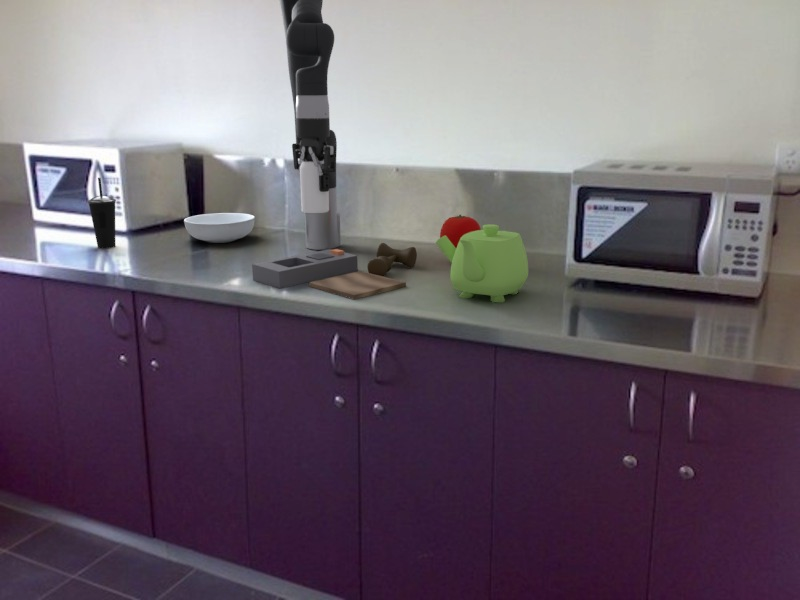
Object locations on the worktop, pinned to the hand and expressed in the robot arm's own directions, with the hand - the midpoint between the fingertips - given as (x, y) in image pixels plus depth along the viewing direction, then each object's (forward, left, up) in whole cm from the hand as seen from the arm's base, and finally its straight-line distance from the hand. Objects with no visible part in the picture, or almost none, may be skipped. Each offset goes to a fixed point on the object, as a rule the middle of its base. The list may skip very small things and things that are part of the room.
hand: (315, 189), depth 182 cm
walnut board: (-4, +10, -22) cm, 25 cm away
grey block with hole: (-2, -7, -22) cm, 23 cm away
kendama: (-22, +3, -23) cm, 31 cm away
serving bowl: (-11, -61, -22) cm, 66 cm away
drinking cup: (+18, -76, -22) cm, 81 cm away
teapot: (-18, +34, -22) cm, 44 cm away
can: (0, 0, -5) cm, 5 cm away
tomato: (-39, +11, -22) cm, 46 cm away
